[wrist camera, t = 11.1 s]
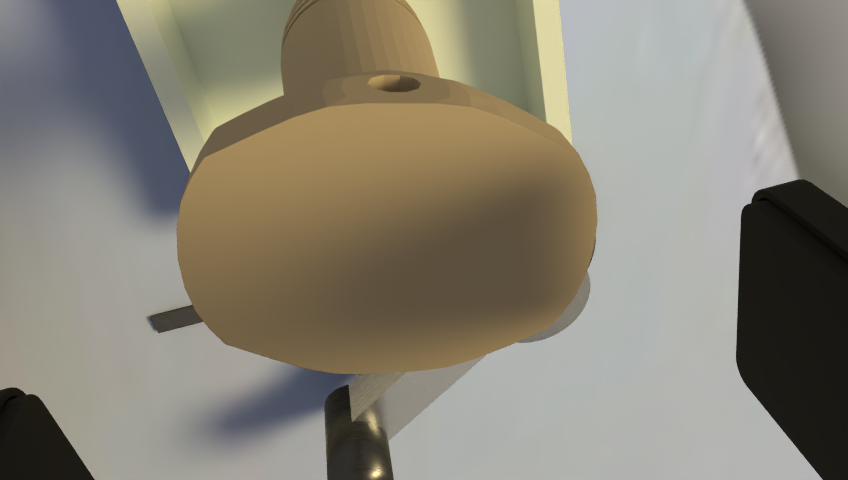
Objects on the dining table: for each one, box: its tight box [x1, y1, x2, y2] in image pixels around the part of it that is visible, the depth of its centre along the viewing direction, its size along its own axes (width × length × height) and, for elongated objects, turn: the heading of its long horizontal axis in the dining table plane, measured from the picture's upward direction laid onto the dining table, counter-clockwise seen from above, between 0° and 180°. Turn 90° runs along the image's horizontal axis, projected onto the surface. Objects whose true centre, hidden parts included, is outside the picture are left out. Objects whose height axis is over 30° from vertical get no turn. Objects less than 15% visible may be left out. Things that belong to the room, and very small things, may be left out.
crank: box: [324, 272, 590, 480], centre depth 28 cm, size 14×4×5 cm, turn 136°
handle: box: [177, 0, 597, 374], centre depth 17 cm, size 5×6×15 cm
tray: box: [116, 0, 572, 173], centre depth 23 cm, size 13×13×4 cm
